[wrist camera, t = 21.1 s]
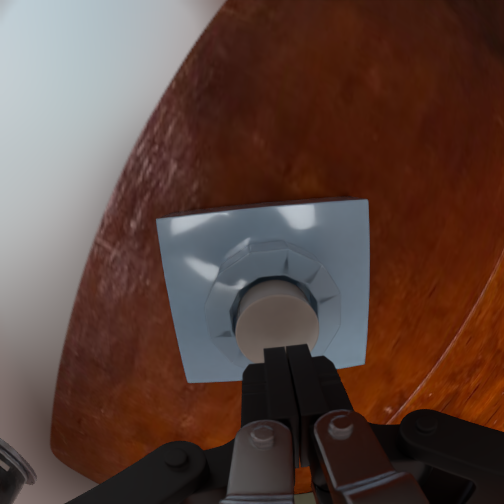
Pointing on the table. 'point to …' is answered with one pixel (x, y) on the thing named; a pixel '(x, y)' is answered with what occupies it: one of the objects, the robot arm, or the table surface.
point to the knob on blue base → (266, 275)
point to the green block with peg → (304, 498)
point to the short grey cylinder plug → (274, 319)
